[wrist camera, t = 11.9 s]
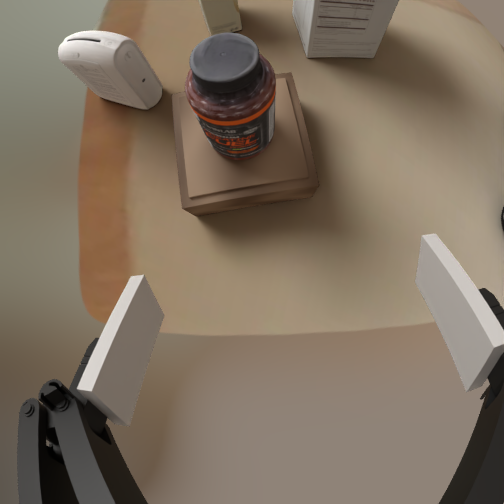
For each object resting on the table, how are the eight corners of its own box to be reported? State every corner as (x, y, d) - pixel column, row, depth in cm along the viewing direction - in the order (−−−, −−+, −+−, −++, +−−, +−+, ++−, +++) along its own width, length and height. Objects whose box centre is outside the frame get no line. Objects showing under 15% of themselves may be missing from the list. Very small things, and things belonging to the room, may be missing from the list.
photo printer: (170, 86, 31) (131, 23, 19) (152, 114, 31) (104, 58, 19) (111, 73, 32) (66, 23, 20) (95, 98, 32) (43, 53, 20)
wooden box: (289, 96, 30) (291, 70, 25) (311, 196, 30) (319, 184, 25) (184, 115, 31) (170, 93, 26) (196, 216, 31) (181, 208, 25)
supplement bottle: (207, 164, 25) (165, 102, 14) (209, 106, 25) (175, 28, 14) (276, 161, 25) (279, 92, 14) (273, 102, 25) (272, 18, 14)
